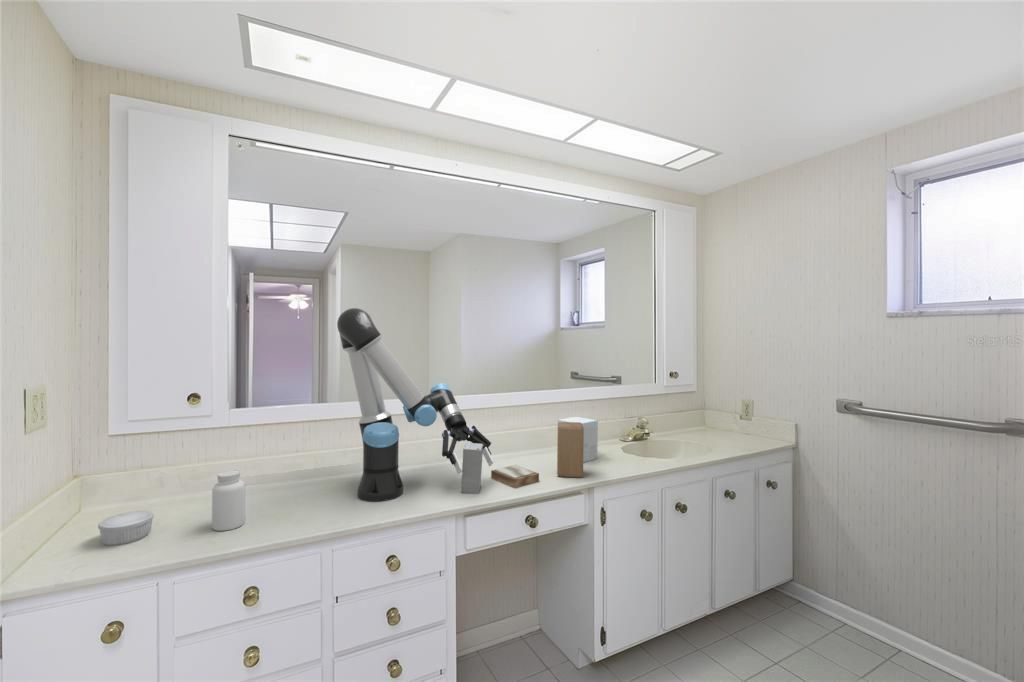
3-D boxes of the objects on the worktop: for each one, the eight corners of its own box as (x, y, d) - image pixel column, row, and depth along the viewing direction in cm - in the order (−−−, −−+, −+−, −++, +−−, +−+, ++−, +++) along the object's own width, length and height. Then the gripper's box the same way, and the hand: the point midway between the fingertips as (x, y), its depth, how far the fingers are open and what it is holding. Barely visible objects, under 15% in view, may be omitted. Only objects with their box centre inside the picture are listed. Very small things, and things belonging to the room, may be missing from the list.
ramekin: (132, 547, 112) (132, 526, 112) (85, 548, 111) (85, 527, 111) (163, 528, 123) (164, 509, 123) (121, 529, 122) (121, 510, 122)
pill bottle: (208, 533, 119) (209, 478, 119) (215, 522, 127) (215, 470, 127) (242, 529, 122) (243, 475, 122) (247, 518, 130) (247, 467, 130)
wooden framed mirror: (514, 488, 158) (514, 478, 158) (491, 478, 169) (491, 469, 169) (538, 481, 166) (538, 472, 166) (515, 472, 177) (515, 464, 177)
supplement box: (575, 453, 208) (575, 416, 208) (598, 458, 199) (598, 420, 199) (556, 457, 199) (556, 419, 199) (579, 464, 190) (579, 423, 190)
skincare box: (463, 485, 160) (464, 442, 160) (483, 485, 160) (483, 442, 160) (460, 493, 152) (460, 448, 152) (480, 494, 152) (481, 448, 152)
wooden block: (581, 470, 180) (582, 422, 180) (583, 478, 170) (583, 426, 170) (557, 469, 181) (557, 421, 181) (557, 477, 171) (557, 426, 171)
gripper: (476, 421, 177) (499, 466, 165) (420, 429, 161) (441, 480, 149) (484, 409, 173) (508, 455, 161) (427, 416, 156) (450, 468, 145)
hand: (476, 467), depth 155 cm, fingers open, 13 cm apart
